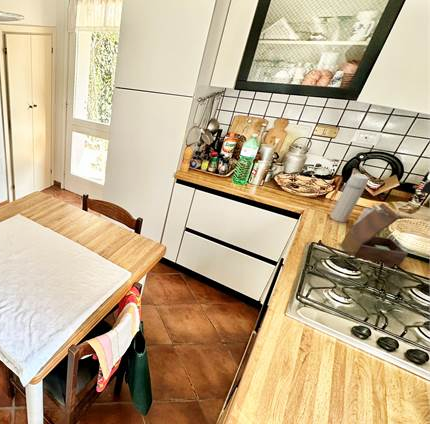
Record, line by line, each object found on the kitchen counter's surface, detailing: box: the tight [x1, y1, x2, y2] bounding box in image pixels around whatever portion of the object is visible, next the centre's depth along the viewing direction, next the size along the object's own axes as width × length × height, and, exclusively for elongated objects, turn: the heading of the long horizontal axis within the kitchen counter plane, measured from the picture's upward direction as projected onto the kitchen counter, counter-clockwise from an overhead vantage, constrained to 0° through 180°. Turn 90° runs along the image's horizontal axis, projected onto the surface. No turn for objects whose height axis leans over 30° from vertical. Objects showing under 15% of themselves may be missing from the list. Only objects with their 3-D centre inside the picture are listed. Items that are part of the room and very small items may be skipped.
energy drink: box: [354, 207, 374, 225], centre depth 153 cm, size 5×5×12 cm
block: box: [374, 245, 390, 250], centre depth 134 cm, size 4×4×4 cm
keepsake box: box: [340, 230, 408, 269], centre depth 135 cm, size 16×13×8 cm
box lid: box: [348, 202, 401, 245], centre depth 130 cm, size 16×13×5 cm
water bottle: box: [329, 173, 370, 223], centre depth 160 cm, size 9×8×25 cm
